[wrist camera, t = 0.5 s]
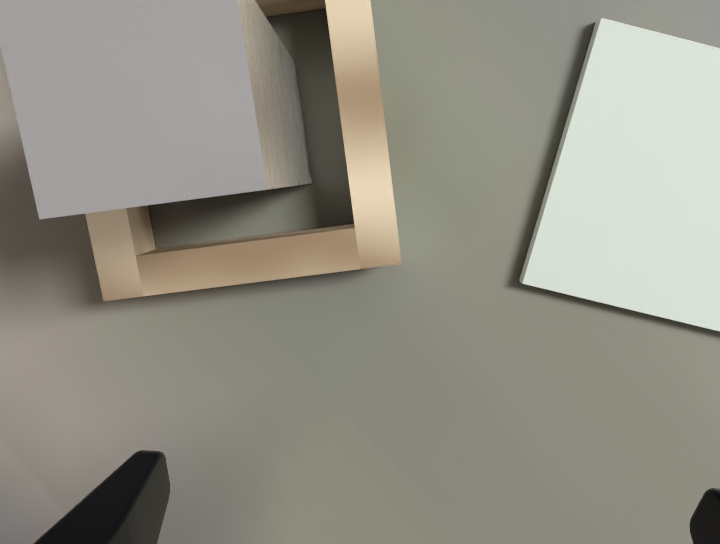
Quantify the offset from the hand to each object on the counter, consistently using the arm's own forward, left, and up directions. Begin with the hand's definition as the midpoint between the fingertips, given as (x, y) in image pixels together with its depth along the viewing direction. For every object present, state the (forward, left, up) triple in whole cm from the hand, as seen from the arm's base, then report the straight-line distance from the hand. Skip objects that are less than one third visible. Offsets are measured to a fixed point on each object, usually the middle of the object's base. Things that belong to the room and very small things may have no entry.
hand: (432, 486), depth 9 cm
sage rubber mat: (+7, -10, -13) cm, 18 cm away
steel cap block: (+5, +7, -13) cm, 16 cm away
